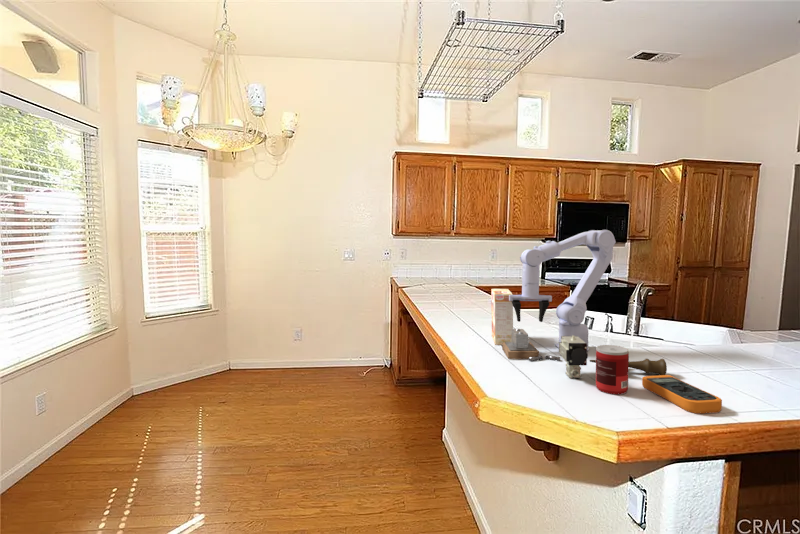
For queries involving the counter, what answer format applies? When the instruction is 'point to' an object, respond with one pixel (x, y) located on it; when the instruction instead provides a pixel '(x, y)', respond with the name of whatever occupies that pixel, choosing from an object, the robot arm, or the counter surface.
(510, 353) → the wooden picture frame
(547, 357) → the bolt
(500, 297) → the coffeecake box
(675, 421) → the counter surface
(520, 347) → the block
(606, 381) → the canned food
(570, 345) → the pneumatic valve
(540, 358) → the bolt
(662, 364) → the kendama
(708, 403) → the multimeter
